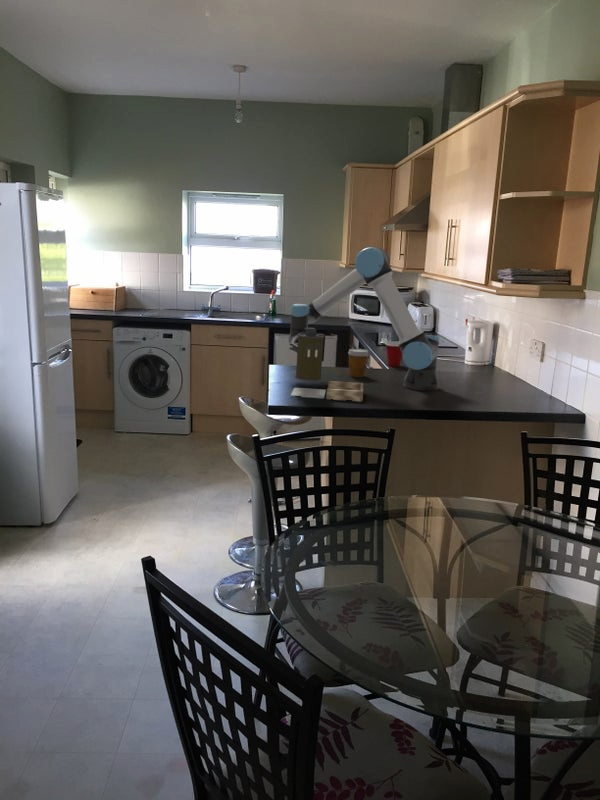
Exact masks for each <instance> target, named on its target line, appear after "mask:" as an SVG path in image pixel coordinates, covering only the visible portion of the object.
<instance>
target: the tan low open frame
mask: <svg viewBox="0 0 600 800" xmlns="http://www.w3.org/2000/svg"><path fill="white" fill-rule="evenodd" d="M325 397H326V398H325V399H326V400H331V399H333V400H335V401H346V400H352V401H351V402H363V400H364V398H363V397H364V383H363V382H350V381H349V382H347V381H334V380H328V387H327V388H326V396H325Z"/></svg>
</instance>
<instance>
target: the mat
mask: <svg viewBox="0 0 600 800" xmlns="http://www.w3.org/2000/svg"><path fill="white" fill-rule="evenodd" d="M326 393H327V389H321V388H319V389H318V388H308V387H307V388H305V387H294V388H293V390H292V391H291V394H290V397H295V396H301V397H300V398H313V399H325V397H326V396H325V395H326Z"/></svg>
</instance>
